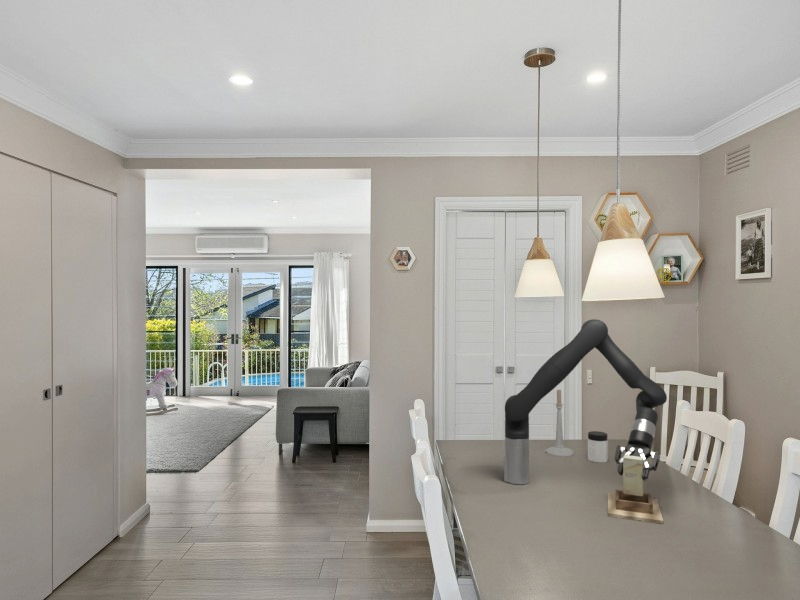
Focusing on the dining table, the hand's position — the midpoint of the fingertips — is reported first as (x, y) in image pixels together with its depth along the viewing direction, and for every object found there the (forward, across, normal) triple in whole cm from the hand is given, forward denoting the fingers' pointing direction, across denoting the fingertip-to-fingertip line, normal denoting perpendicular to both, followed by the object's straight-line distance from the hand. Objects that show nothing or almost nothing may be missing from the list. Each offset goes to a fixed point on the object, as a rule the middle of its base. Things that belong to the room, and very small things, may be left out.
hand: (631, 476), depth 170 cm
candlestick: (-27, -49, +43) cm, 70 cm away
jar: (-27, -30, +43) cm, 60 cm away
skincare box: (+3, 0, +6) cm, 6 cm away
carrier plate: (+7, 0, +9) cm, 11 cm away
